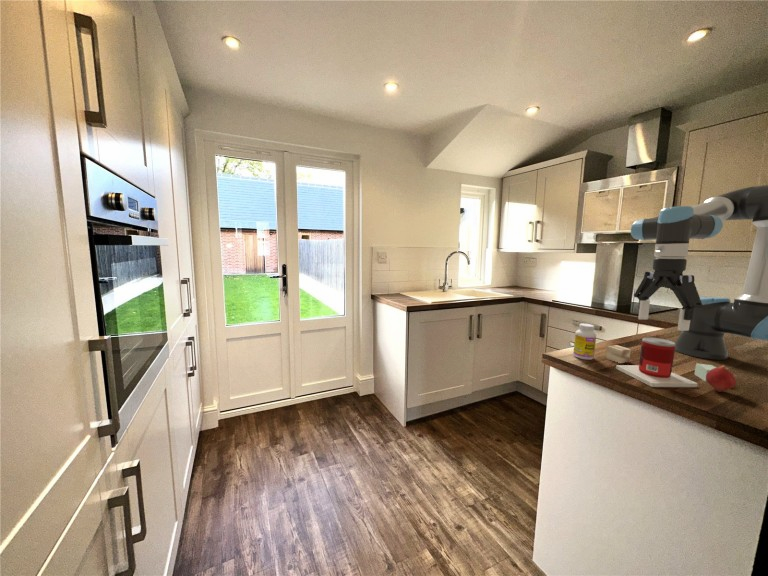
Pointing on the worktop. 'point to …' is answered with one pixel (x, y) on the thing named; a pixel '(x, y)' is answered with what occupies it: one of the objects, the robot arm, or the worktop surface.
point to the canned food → (656, 357)
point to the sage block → (703, 370)
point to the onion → (720, 379)
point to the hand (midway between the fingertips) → (661, 324)
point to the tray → (656, 378)
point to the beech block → (618, 354)
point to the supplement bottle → (585, 342)
